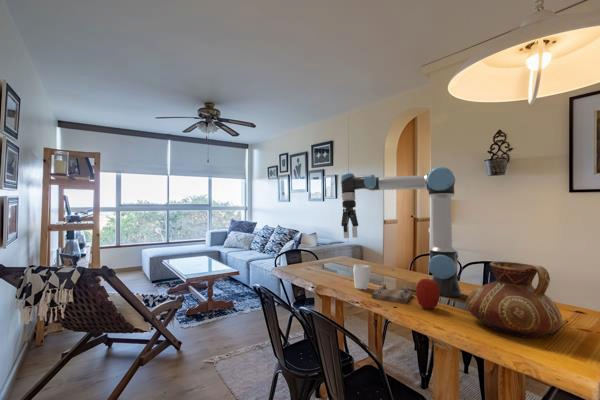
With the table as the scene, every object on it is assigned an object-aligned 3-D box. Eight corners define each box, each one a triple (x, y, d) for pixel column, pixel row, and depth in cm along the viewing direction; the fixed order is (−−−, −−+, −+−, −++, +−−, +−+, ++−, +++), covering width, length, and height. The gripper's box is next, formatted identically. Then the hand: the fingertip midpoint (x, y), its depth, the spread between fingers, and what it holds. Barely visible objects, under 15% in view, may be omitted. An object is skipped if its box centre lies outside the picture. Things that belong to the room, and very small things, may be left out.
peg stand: (411, 295, 156) (412, 286, 156) (406, 303, 142) (406, 293, 142) (380, 290, 164) (380, 281, 164) (371, 297, 150) (372, 288, 150)
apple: (426, 312, 130) (427, 279, 131) (410, 305, 140) (410, 274, 140) (445, 310, 134) (446, 278, 135) (427, 303, 144) (428, 273, 144)
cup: (370, 286, 171) (370, 265, 171) (369, 290, 162) (369, 267, 162) (353, 285, 173) (354, 263, 174) (351, 289, 165) (352, 266, 165)
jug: (453, 323, 119) (455, 258, 120) (480, 308, 139) (481, 252, 140) (552, 352, 97) (554, 272, 98) (567, 329, 117) (568, 263, 118)
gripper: (350, 202, 190) (352, 237, 188) (334, 199, 169) (336, 238, 166) (362, 201, 187) (364, 237, 184) (347, 198, 165) (349, 238, 163)
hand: (350, 237), depth 175 cm, fingers open, 13 cm apart
